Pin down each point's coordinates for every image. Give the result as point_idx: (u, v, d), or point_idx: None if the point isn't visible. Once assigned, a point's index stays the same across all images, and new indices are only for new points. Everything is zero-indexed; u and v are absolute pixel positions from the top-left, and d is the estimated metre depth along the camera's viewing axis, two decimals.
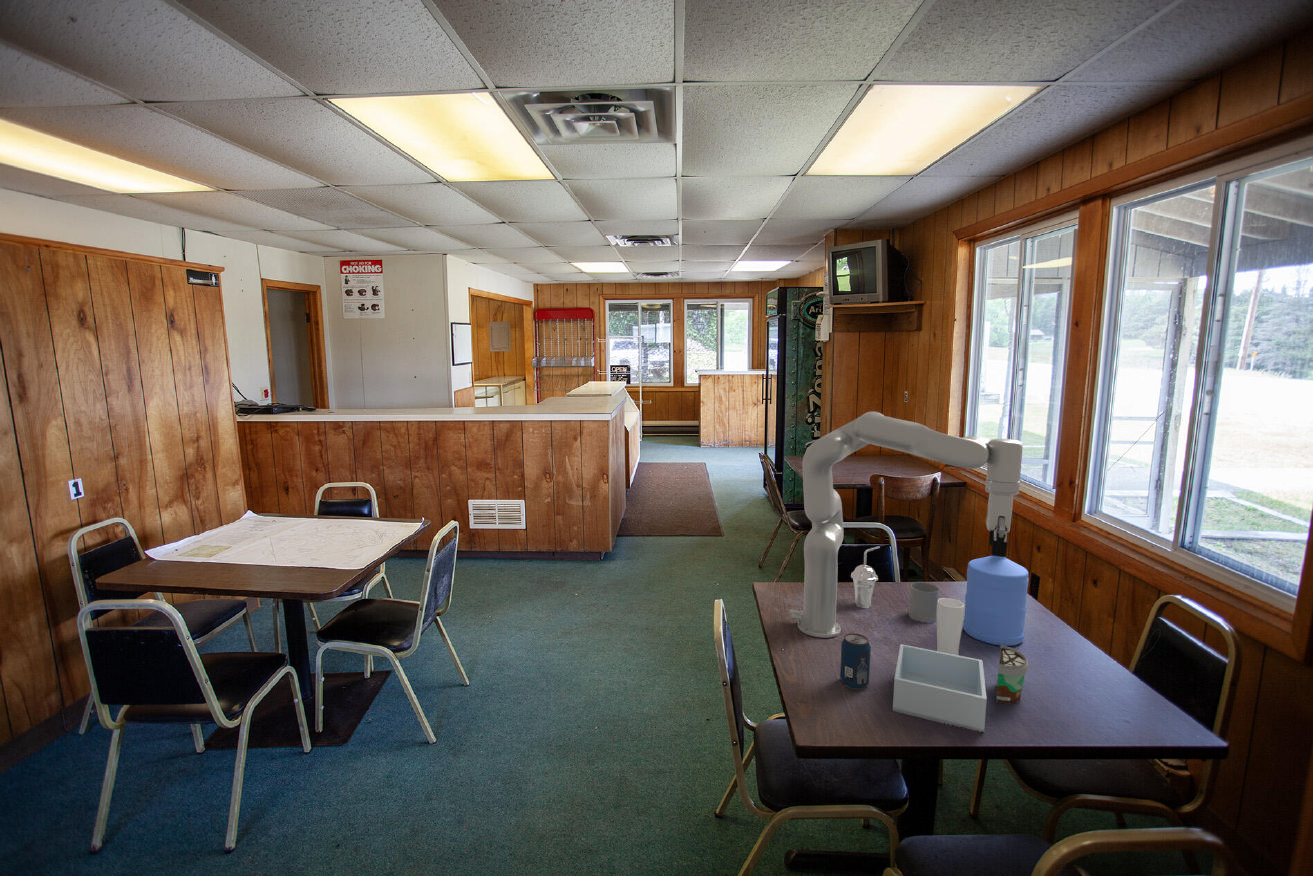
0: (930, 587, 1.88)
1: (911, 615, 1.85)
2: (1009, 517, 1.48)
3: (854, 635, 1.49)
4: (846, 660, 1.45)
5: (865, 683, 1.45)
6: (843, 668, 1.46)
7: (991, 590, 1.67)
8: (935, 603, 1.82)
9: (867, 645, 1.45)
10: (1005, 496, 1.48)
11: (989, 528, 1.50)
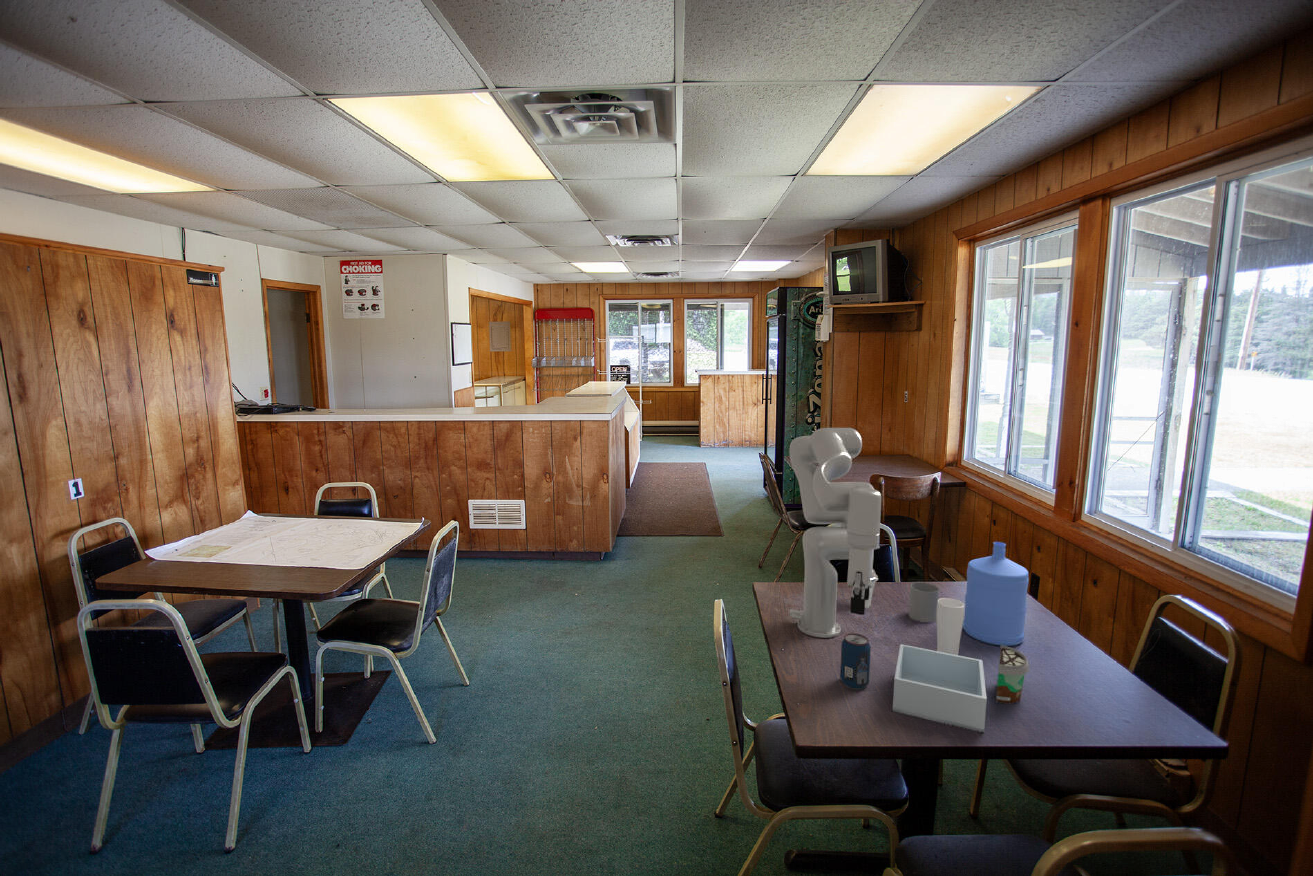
0: (930, 587, 1.88)
1: (911, 615, 1.85)
2: (866, 573, 1.39)
3: (854, 635, 1.49)
4: (846, 660, 1.45)
5: (865, 683, 1.45)
6: (843, 668, 1.46)
7: (991, 590, 1.67)
8: (935, 603, 1.82)
9: (867, 645, 1.45)
10: (862, 550, 1.39)
11: (847, 584, 1.42)
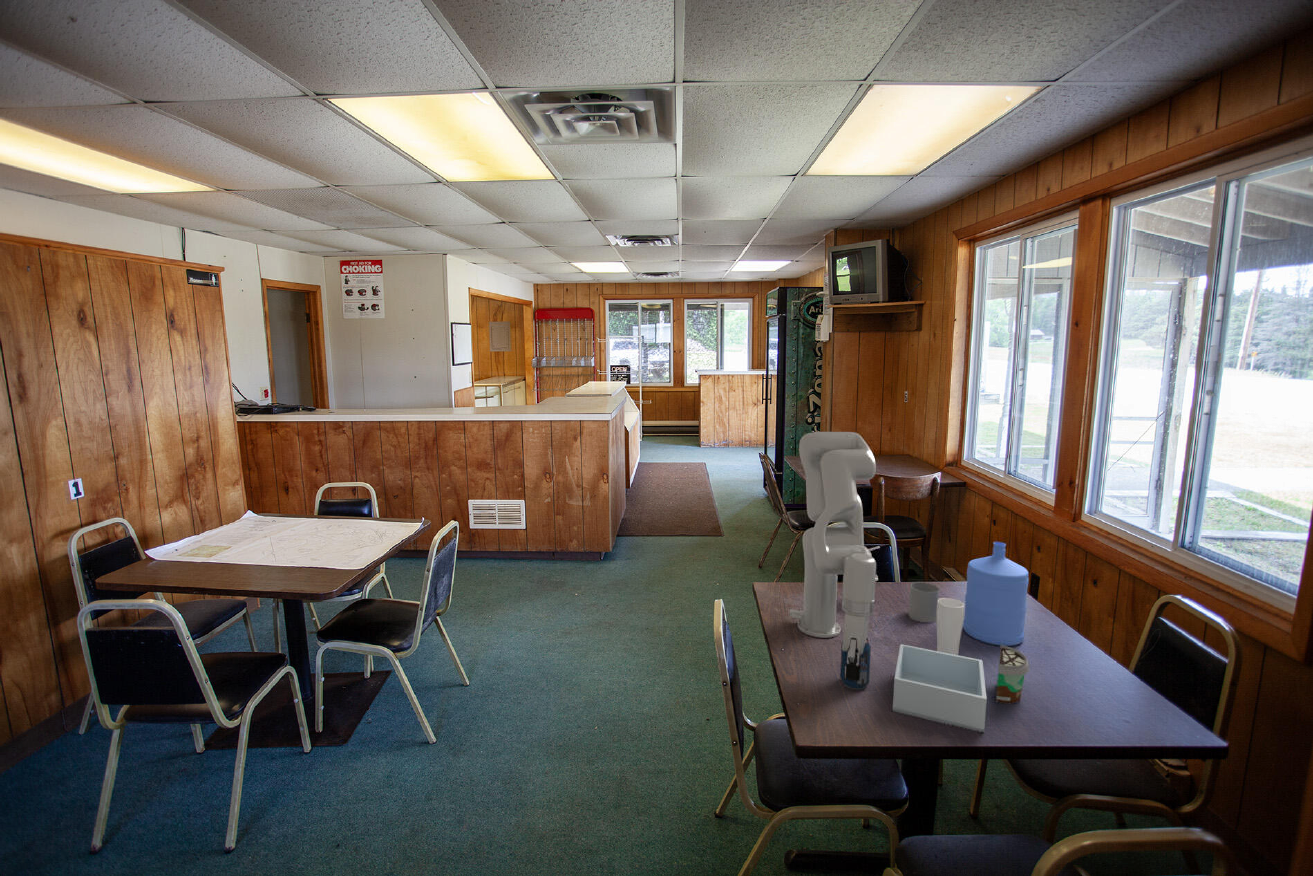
0: (930, 587, 1.88)
1: (911, 615, 1.85)
2: (861, 639, 1.41)
3: None
4: (846, 660, 1.45)
5: (865, 683, 1.45)
6: (843, 668, 1.46)
7: (991, 590, 1.67)
8: (935, 603, 1.82)
9: (867, 645, 1.45)
10: (857, 617, 1.42)
11: (842, 649, 1.44)
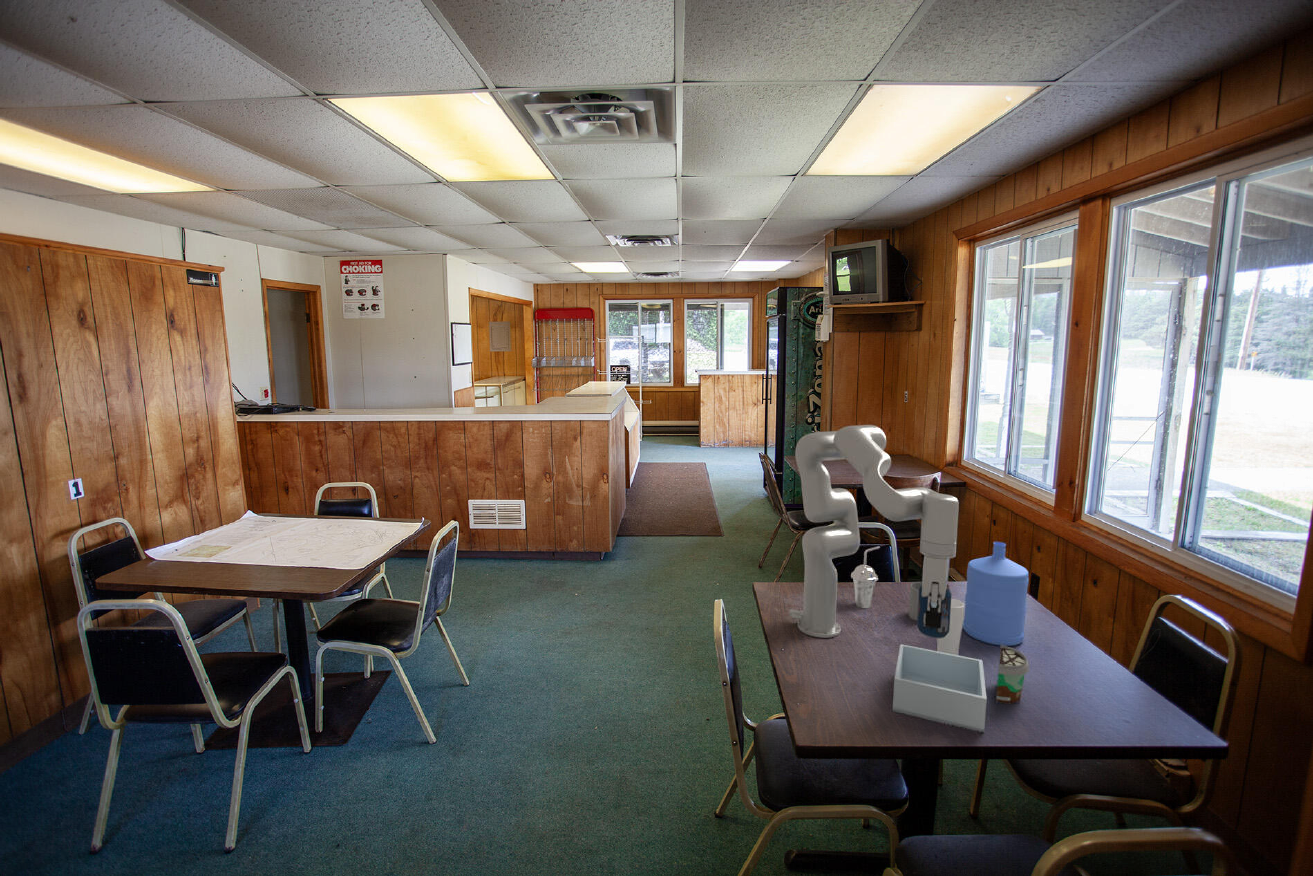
0: None
1: (911, 615, 1.85)
2: (943, 583, 1.32)
3: (932, 582, 1.40)
4: (925, 607, 1.36)
5: (946, 631, 1.36)
6: (922, 616, 1.37)
7: (991, 590, 1.67)
8: None
9: (948, 591, 1.36)
10: (939, 560, 1.33)
11: (922, 594, 1.35)
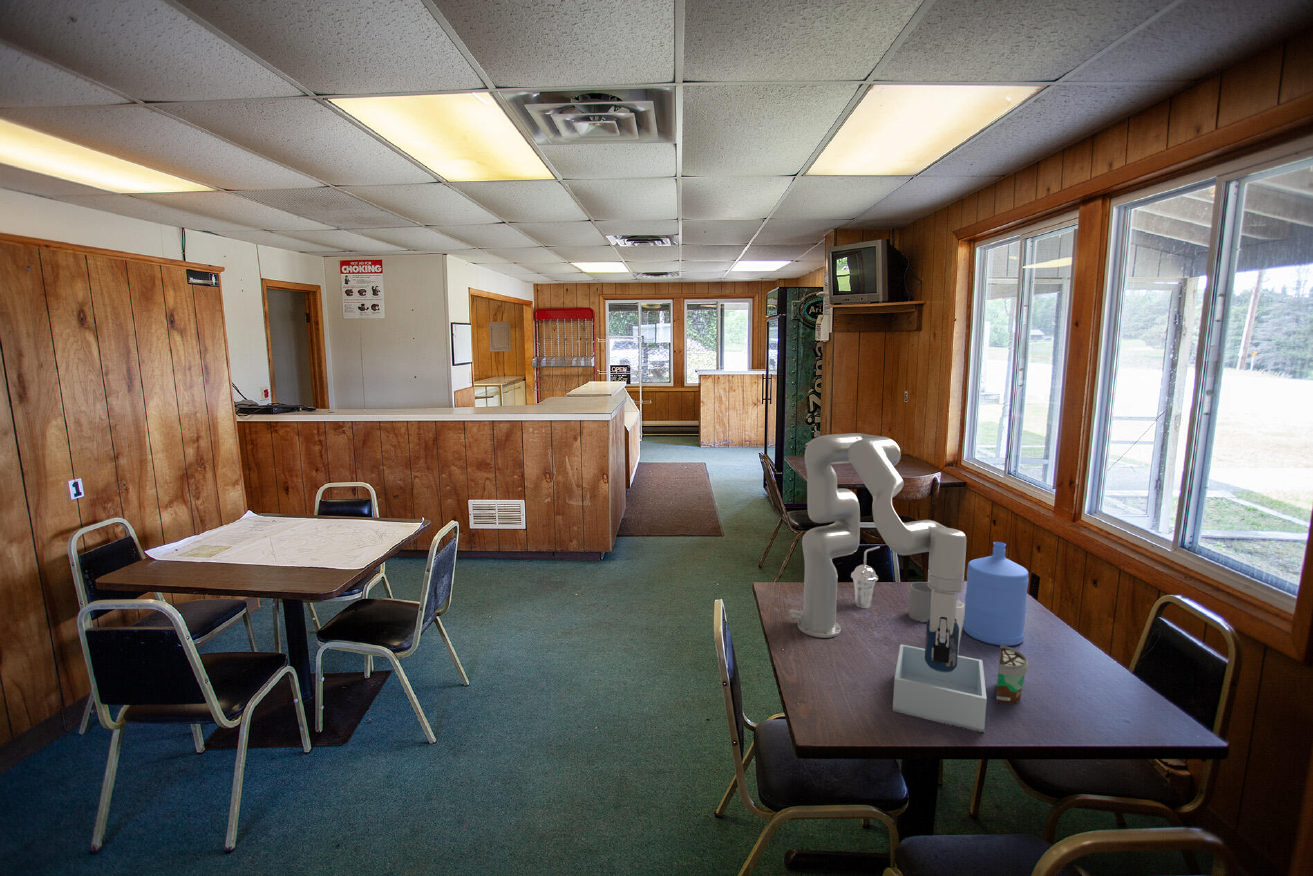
0: None
1: (911, 615, 1.85)
2: (951, 618, 1.33)
3: None
4: (933, 641, 1.37)
5: (954, 666, 1.36)
6: (930, 650, 1.38)
7: (991, 590, 1.67)
8: None
9: (956, 625, 1.36)
10: (947, 595, 1.33)
11: (930, 629, 1.35)
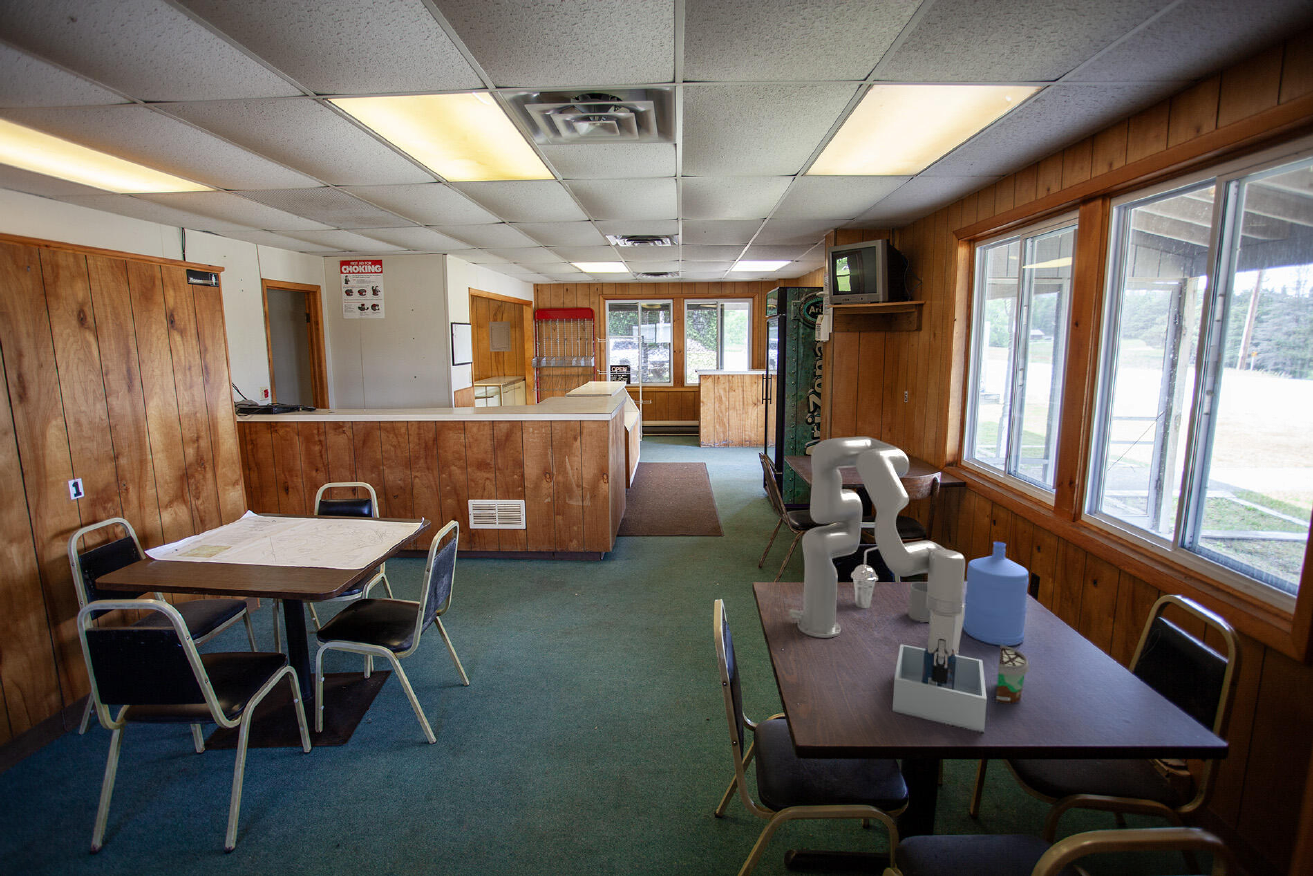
0: None
1: (911, 615, 1.85)
2: (950, 641, 1.33)
3: None
4: (930, 671, 1.38)
5: None
6: (926, 680, 1.39)
7: (991, 590, 1.67)
8: None
9: (953, 656, 1.38)
10: (946, 617, 1.34)
11: (929, 651, 1.36)
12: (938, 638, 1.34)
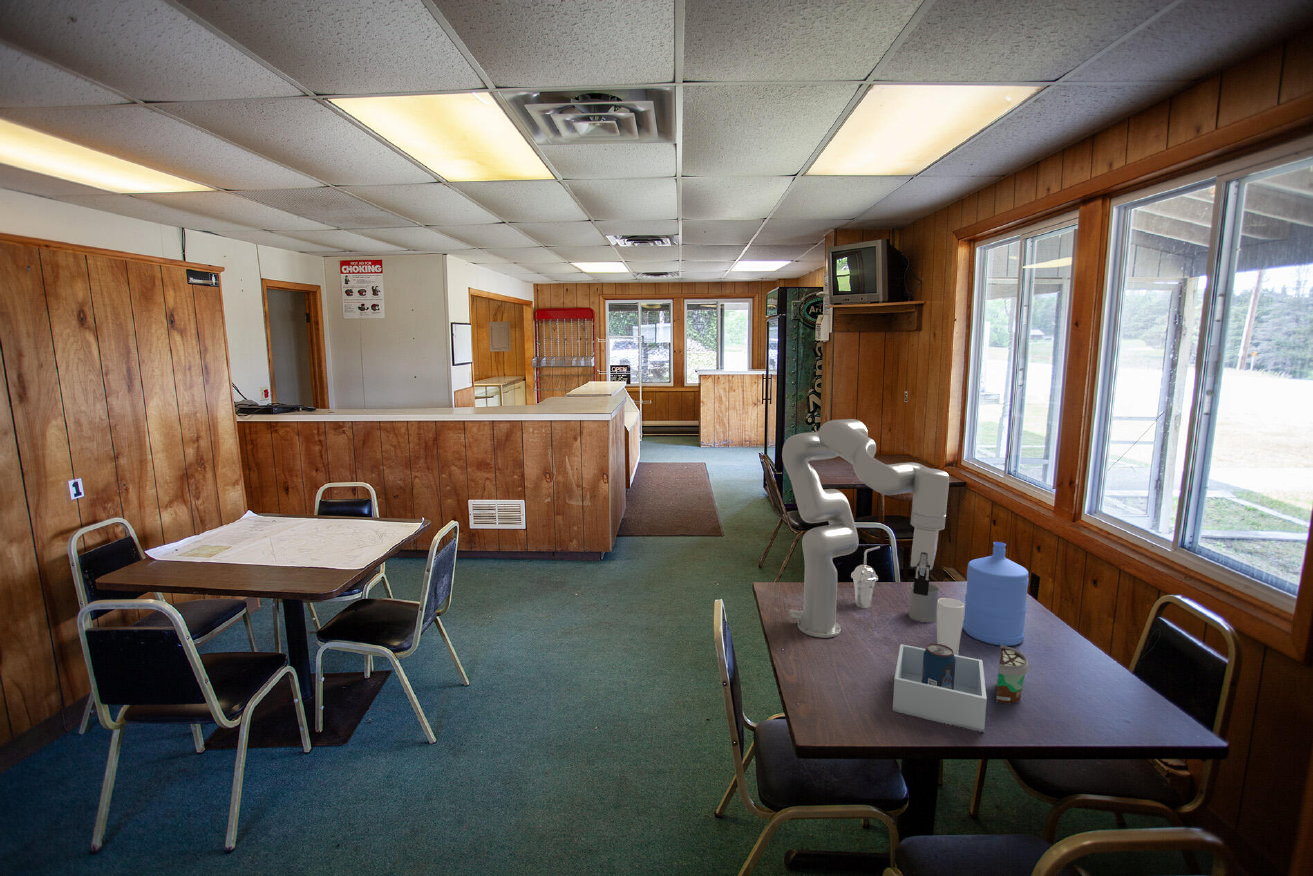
0: (930, 587, 1.88)
1: (911, 615, 1.85)
2: (932, 554, 1.38)
3: (937, 645, 1.42)
4: (929, 672, 1.38)
5: None
6: (926, 680, 1.39)
7: (991, 590, 1.67)
8: (935, 603, 1.82)
9: (952, 656, 1.37)
10: (928, 531, 1.38)
11: (911, 564, 1.41)
12: (920, 552, 1.39)
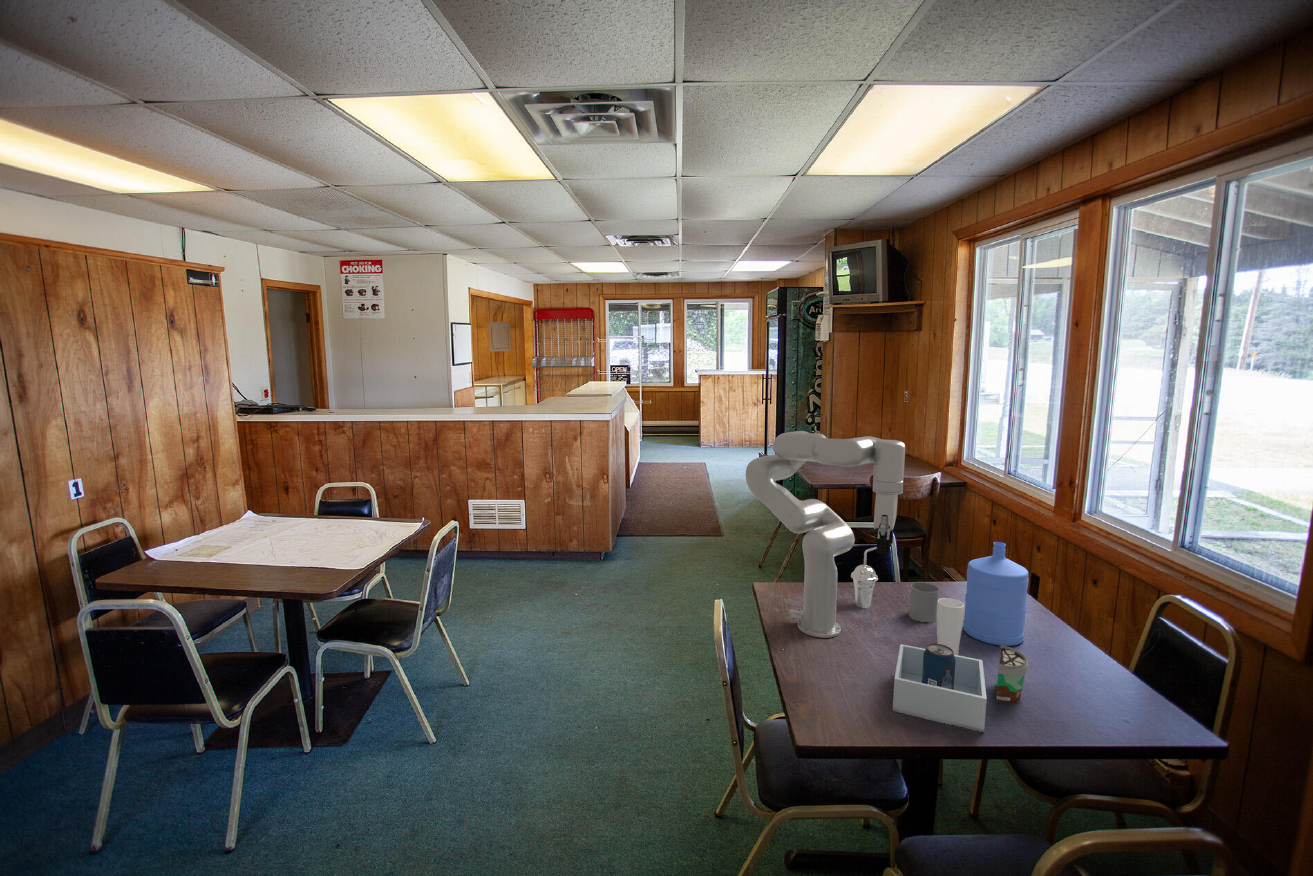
0: (930, 587, 1.88)
1: (911, 615, 1.85)
2: (891, 516, 1.53)
3: (937, 645, 1.42)
4: (929, 672, 1.38)
5: None
6: (926, 680, 1.39)
7: (991, 590, 1.67)
8: (935, 603, 1.82)
9: (952, 656, 1.37)
10: (888, 495, 1.53)
11: (874, 526, 1.55)
12: (881, 514, 1.54)
